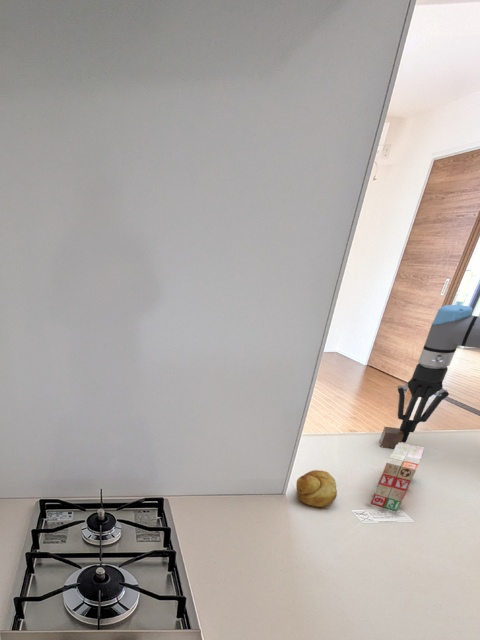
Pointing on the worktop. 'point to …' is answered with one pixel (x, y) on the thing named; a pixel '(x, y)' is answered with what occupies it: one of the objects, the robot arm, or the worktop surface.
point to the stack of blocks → (397, 476)
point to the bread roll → (316, 488)
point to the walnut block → (391, 437)
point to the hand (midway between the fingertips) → (402, 440)
